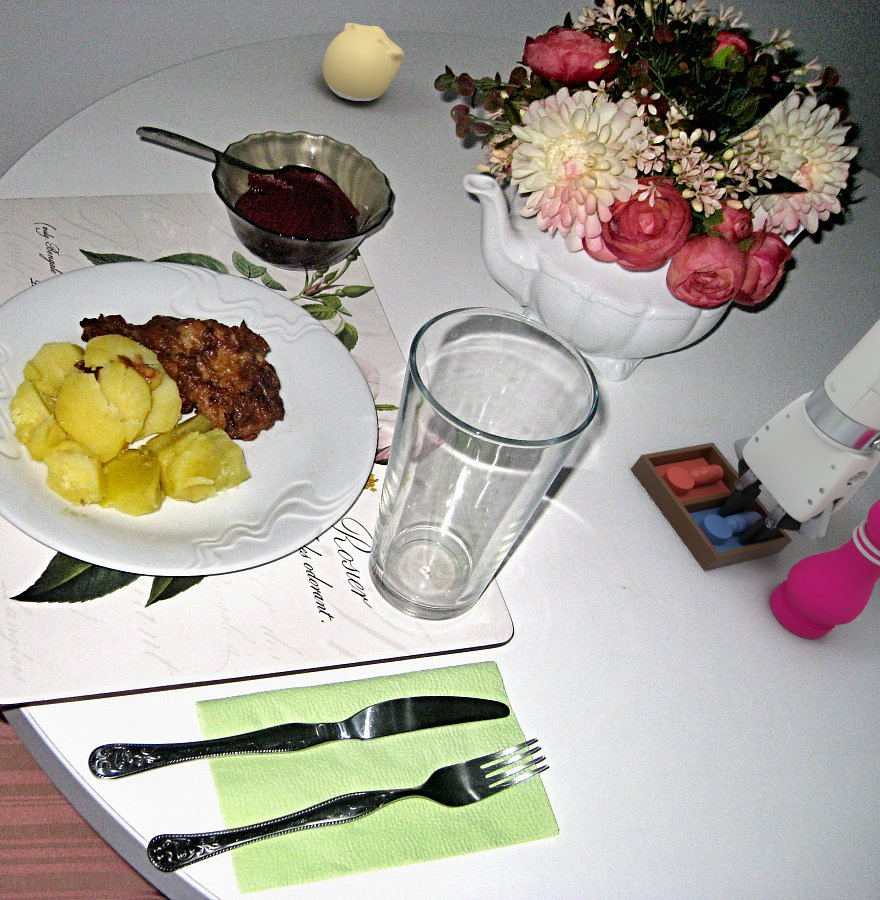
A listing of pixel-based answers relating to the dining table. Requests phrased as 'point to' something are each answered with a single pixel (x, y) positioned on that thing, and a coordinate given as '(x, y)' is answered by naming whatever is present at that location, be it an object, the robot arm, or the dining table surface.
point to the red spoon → (691, 477)
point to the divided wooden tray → (683, 519)
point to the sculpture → (361, 61)
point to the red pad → (699, 488)
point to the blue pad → (732, 541)
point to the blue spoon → (727, 526)
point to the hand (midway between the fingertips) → (740, 525)
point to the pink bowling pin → (831, 583)
